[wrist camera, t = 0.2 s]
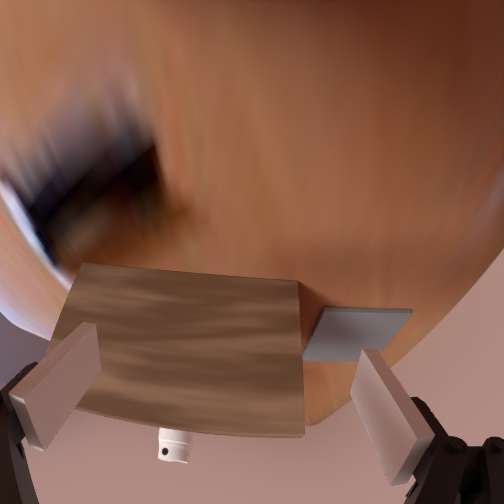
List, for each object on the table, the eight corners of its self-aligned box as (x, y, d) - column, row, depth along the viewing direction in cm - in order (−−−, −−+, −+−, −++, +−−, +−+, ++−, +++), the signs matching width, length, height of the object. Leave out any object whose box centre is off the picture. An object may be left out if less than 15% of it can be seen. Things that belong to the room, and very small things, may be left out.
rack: (82, 262, 33) (33, 392, 22) (297, 281, 34) (304, 434, 23) (127, 353, 49) (109, 442, 38) (270, 368, 50) (269, 462, 39)
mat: (323, 306, 37) (324, 311, 37) (410, 309, 37) (411, 313, 37) (300, 357, 47) (300, 361, 47) (371, 357, 47) (372, 360, 47)
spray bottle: (199, 309, 38) (180, 458, 26) (225, 335, 43) (215, 466, 30) (155, 318, 40) (130, 452, 28) (184, 342, 45) (167, 463, 32)
